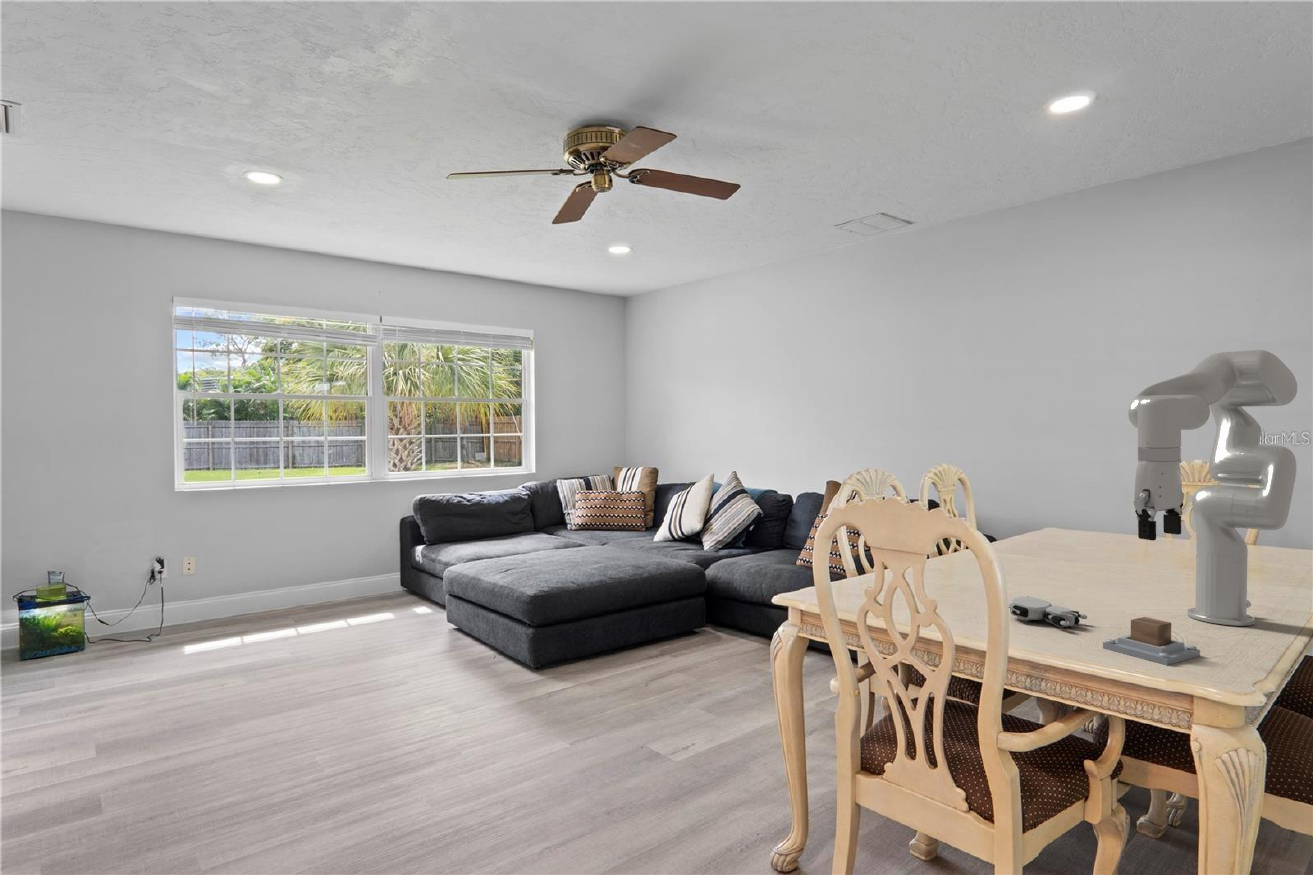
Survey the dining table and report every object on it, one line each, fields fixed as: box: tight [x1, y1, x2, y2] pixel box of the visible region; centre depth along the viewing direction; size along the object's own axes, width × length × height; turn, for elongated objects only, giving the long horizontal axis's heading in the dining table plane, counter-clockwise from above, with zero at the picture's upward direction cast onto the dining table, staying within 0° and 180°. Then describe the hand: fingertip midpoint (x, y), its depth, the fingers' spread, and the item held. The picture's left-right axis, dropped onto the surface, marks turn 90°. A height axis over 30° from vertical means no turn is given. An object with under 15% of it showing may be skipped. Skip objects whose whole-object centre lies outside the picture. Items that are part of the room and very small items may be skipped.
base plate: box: [1102, 634, 1201, 666], centre depth 146 cm, size 12×12×2 cm
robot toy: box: [1008, 595, 1088, 628], centre depth 168 cm, size 12×4×15 cm
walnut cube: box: [1130, 616, 1172, 647], centre depth 146 cm, size 5×5×5 cm
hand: (1159, 536), depth 152 cm, fingers open, 9 cm apart
